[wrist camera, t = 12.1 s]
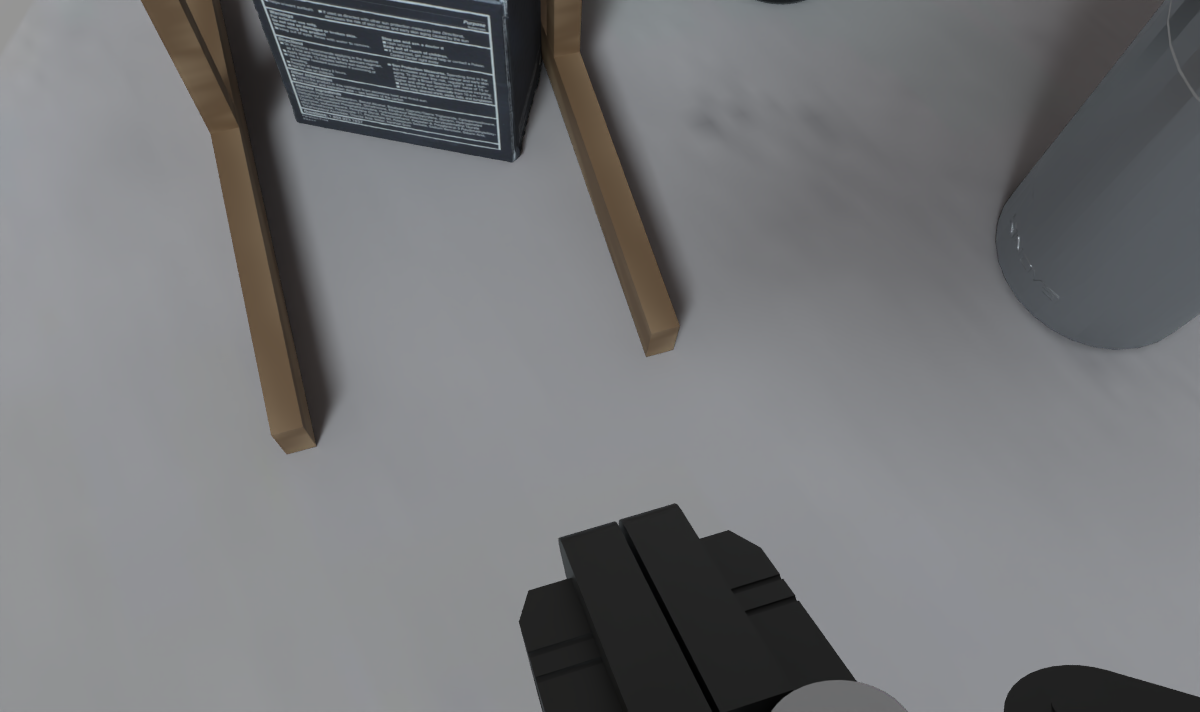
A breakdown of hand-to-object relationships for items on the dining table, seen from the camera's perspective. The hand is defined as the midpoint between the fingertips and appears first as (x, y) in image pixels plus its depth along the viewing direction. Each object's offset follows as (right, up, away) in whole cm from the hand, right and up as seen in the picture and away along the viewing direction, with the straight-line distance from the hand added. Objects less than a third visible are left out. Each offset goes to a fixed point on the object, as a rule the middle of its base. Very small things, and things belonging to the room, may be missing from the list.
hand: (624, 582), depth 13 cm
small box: (-9, +15, +36) cm, 40 cm away
